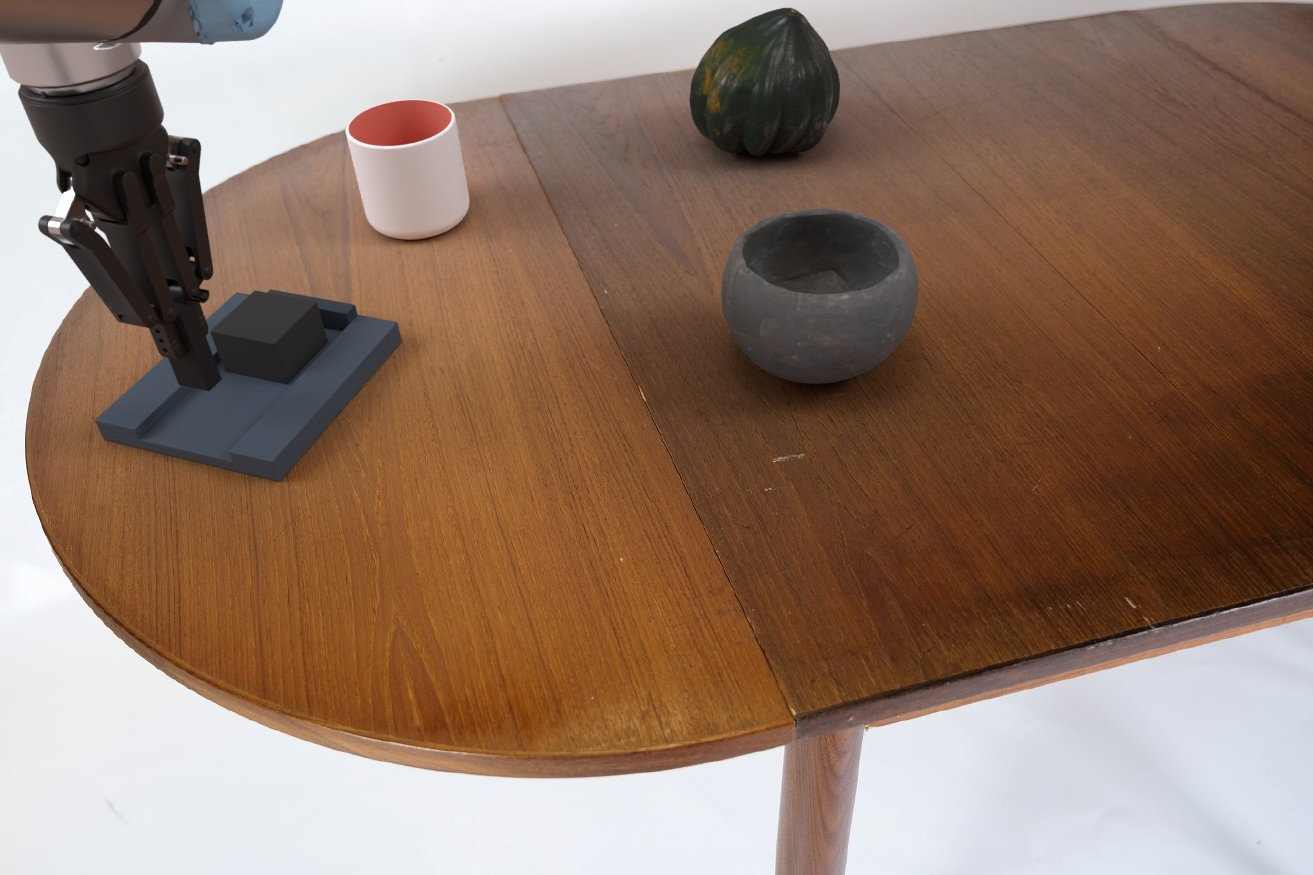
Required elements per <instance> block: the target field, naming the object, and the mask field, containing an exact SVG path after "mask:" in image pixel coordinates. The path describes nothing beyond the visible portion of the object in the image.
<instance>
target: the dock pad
mask: <svg viewBox="0 0 1313 875" xmlns="http://www.w3.org/2000/svg"><path fill="white" fill-rule="evenodd" d="M266 293H272V294H277V295H282V296H288V297H293V298H299V299H304V300H309V301H315V302H317V305H318V308H319V312H320V315H321V319H322V322H323V325H324V329H325V332H326V336H327V339H328V342H327V343H326V344H325V345H324V346H323V347H322V349H321V350H320V351H319V352H318V353H317V354H316V355H315V356H314V357H313V358H312V359H311V360H310V361H309V362H308V363H307V364H306V365H305V366H304V367H303V368H302V370H301V371H300V372H299V373H298V374H297V375H296V376H295V377H294V378H293V379H292V380H291V381H290V382H289V383H288V384H283V383H278V382H274V381H269V380H264V379H260V378H255V377H250V376H245V375H241V374H236V373H231V372H226V371H225V370H224V367H223V365H222V362H221V359H220V357H219V354H218V351H217V349H216V346H215V343H214V341H213V338H212V335H211V333H210V331H211V330H212V329H213V328H214V327H215V326H216V325H217V324H219V323H220V322H221V321H222V320H223V319H224V318H225V317H226V316H227V315H228V314H229V313H231V312H232V311H233V310H234V309H235V308H236V307H237V306H238V305H239V304H240V303H241V302H243V301H244V300H245V299H246V298H247V297H248V296H249V295H250V294H251V293H250V294H249V293H244V292H239V291H237V292H235V293H234V294H232V296H231V297H230V298H229V299H227V300H226V301H225V302H224V303H223V304H221V306H219V307H218V308H217V309H216V310H215V311H214V312H212V313H211V314H210V316H207V318H205V320H206V322H207V324H208V334H207V335H206V338H207V341H208V344H209V346H210V349H211V352H212V354H213V357H214V360H215V363H216V365H217V368H218V371H219V374H220V376H221V379H222V380H221V381H220V382H219V383H218V384H216V385H215V386H214V387H213V388H212V389H211V390H210V391H205V390H200V389H196V388H191V387H186V386H182V385H179V384H178V381H177V379H176V376H175V374H174V371H173V369H172V366H171V364H170V361H169V359H168V358H167V357H163V358H161V359H160V360H159V361H158V362H157V363H156V364H155V365H154V366H153V367H151V368H150V369H149V370H148V371H147V372H146V373H145V374H143V376H141V378H139V379H138V381H136V382H135V383H134V384H132V386H130V388H128V389H127V390H126V391H125V392H124V393H123V394H122V395H121V396H120V397H119V398H117V399H116V400H115V401H114V402H113V403H112V404H110V406H108V408H106V409H105V410H104V411H103V412H102V413H101V414H99V415H98V416H97V417H96V418H95V419H94V423H95V424H96V426H97V428H98V430H99V432H100V435H101V436H102V437H101V438H102V439H103V440H104V441H108V442H111V443H117V444H120V445H124V446H128V447H132V448H137V449H141V450H145V451H149V452H153V453H158V454H162V455H166V456H170V457H175V458H179V459H183V460H186V461H187V460H188V461H191V462H195V463H198V464H203V465H208V466H212V467H216V468H220V469H224V470H229V471H232V472H237V473H240V474H245V475H250V476H252V477H253V476H254V477H256V478H257V477H258V478H262V479H265V480H270V481H275V482H278V483H279V482H281V481H282V480H283V479H284V477H285V476H286V475H287V474H288V473H289V472H290V470H291V469H292V468H293V467H294V466H295V465H296V464H297V462H298V461H299V460H300V459H301V458H302V457H303V455H305V453H306V452H307V451H308V450H309V448H311V446H312V445H313V444H315V442H316V441H317V440H318V438H319V437H320V436H321V435H322V434H323V433H324V432H325V430H327V428H329V426H330V425H331V424H332V422H333V421H334V420H335V419H336V418H337V417H338V415H339V414H340V413H341V412H342V411H343V410H344V408H345V407H346V406H347V405H348V404H349V403H350V401H352V399H353V398H354V397H355V396H356V395H357V393H359V391H360V390H361V389H362V388H363V387H364V386H365V384H366V383H367V382H368V381H369V380H370V378H372V376H373V375H374V374H375V373H376V372H377V370H378V369H380V368H381V366H382V365H383V364H384V363H385V362H386V360H387V359H388V358H389V357H390V356H391V354H393V352H394V351H395V350H396V349H397V348H398V346H399V345H400V344H401V343H402V342H403V339H402V336H401V332H400V331H401V330H400V326H399V322H398V321H393V320H390V319H384V318H378V317H372V316H368V315H363V314H358V310H357V306H356V304H353V303H348V302H342V301H338V300H332V299H326V298H320V297H315V296H309V295H304V294H298V293H294V292H288V291H283V290H276V289H271V288H270V289H269V290H268V291H267V292H266Z"/></svg>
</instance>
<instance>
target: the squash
mask: <svg viewBox="0 0 1313 875" xmlns="http://www.w3.org/2000/svg"><path fill="white" fill-rule="evenodd" d="M689 92H690V93H689V109H690V114H691V118H692V121H693V124H694V125H695V127H696V129H697V131H699V133H700V134H701V135H702V136H703V137H704V138H705V139H707V140H708V141H709V142H712V143H713V144H714V145H715V147H717V149H719V150H720V151H721V152H725V153H728V154H732V155H733V154H740V153H743V152H745V151H747V152H748V153H749V154H750V155H752V156H763V155H765V154H766V153H767V152H769V153H770V154H776V155H777V154H782V153H785V152H787V153H804V152H807V151H810V150H812V149H813V148H815V147H816V146H817V145H818V144H819V143H820V142H821V141H822V139H823V137H824V135H825V133H826V130H827V128H828V126H829V125H830V123H831V122H832V120H833V119H834V117H835V115H836V112H837V110H838V107H839V104H840V96H841V82H840V76H839V71H838V68H837V67H836V65H835V63H834V61H833V59H832V56H831V53H830V50H829V46H827V44H826V42H825V40H824V39H823V37H821V35H820V34H819V33H818V31H817V30H816V29H815V28H814V27H813V25H812V24H811V23H810V22H809V20H808V19H807V17H806V16H805V15H804V14H802V13H801V12H800V11H799V10H798V9H795V8H793V7H781V8H776V9H773V10H769V11H766V12H764V13H763V12H762V13H761V14H758V15H756V16H753V17H751V18H749V19H747V20H745V21H743V22H741V23H740V24H737V25H735V26H732V27H730V28H728V29H726V30H725V31H723V32H721V34H719V36H717V38H716V39H715V40H714V41H713V43H712V44H711V45H710V46H709V47H708V49H707V51H706V52H704V54H703V56H702V57H701V58H700V61H699V63H698V65H697V67H696V69H695V71H694V73H693V75H692V78H691V82H690V91H689Z"/></svg>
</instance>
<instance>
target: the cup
mask: <svg viewBox="0 0 1313 875" xmlns="http://www.w3.org/2000/svg"><path fill="white" fill-rule="evenodd" d="M345 136H346V141H347V144H348V148H349V152H350V157H351V161H352V165H353V168H354V173H355V177H356V182H357V184H358V185H357V186H358V189H359V193H360V197H361V201H362V206H363V210H364V215H365V217H366V219H367V222H368V223H369V224H370V226H371V227H372V228H373V229H374V230H375V231H377V232H378V233H380V234H382V235H384V236H387V237H389V238H393V239H398V240H422V239H427V238H431V237H435V236H439V235H441V234H444V233H446V232H448V231H449V230H452V229H453V228H455V227H456V226H457V225H458V224H460V223H461V222H462V221H463V219H464V218H465V217H466V215H467V213H468V211H469V208H470V195H469V194H470V193H469V189H468V182H467V177H466V172H465V165H464V160H463V159H464V158H463V154H462V148H461V142H460V136H459V130H458V124H457V119H456V114H455V113H454V111H453V110H452V109H451V108H450V107H449V106H447V105H445V104H443V103H441V102H438V101H433V100H429V99H417V98H416V99H415V98H414V99H413V98H409V99H398V100H392V101H386V102H382V103H380V104H376V105H373V106H370V107H368V108H366V109H364V110H362V111H360V112H358V113H357V114H356V115H354V116H353V117H352V118H351V119H350V120H349V121H348V123H347V125H346V127H345Z"/></svg>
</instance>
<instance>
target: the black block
mask: <svg viewBox="0 0 1313 875" xmlns="http://www.w3.org/2000/svg"><path fill="white" fill-rule="evenodd" d="M210 333H211V335H212V338H213V341H214V343H215V346H216V349H217V351H218V354H219V357H220V359H221V362H222V365H223V367H224V370H225V371H226V372H231V373H236V374H241V375H245V376H250V377H255V378H260V379H264V380H269V381H274V382H278V383H283V384H288V383H289V382H290V381H291V380H292V379H293V378H294V377H295V376H296V375H297V374H298V373H299V372H300V371H301V370H302V368H303V367H304V366H305V365H306V364H307V363H308V362H309V361H310V360H311V359H312V358H313V357H314V356H315V355H316V354H317V353H318V352H319V351H320V350H321V349H322V347H323V346H324V345H325V344H326V343H327V342H328V339H327V336H326V332H325V329H324V325H323V322H322V319H321V315H320V312H319V308H318V305H317V302H315V301H309V300H304V299H299V298H293V297H288V296H282V295H277V294H272V293H267V292H265V291H260V290H253V291H252V292H251V293H250V295H249V296H248V297H247V298H246V299H245V300H244V301H243V302H241V303H240V304H239V305H238V306H237V307H236V308H235V309H234V310H233V311H232V312H231V313H229V314H228V315H227V316H226V317H225V318H224V319H223V320H222V321H221V322H220V323H219V324H217V325H216V326H215V327H214V328H213V329H212V330H211V331H210Z"/></svg>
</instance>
